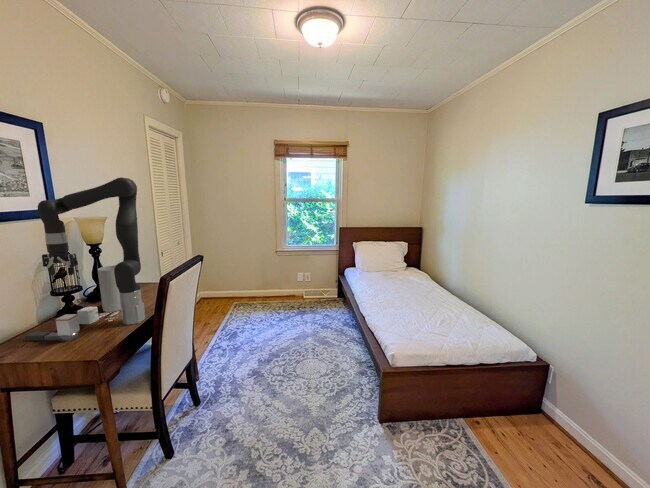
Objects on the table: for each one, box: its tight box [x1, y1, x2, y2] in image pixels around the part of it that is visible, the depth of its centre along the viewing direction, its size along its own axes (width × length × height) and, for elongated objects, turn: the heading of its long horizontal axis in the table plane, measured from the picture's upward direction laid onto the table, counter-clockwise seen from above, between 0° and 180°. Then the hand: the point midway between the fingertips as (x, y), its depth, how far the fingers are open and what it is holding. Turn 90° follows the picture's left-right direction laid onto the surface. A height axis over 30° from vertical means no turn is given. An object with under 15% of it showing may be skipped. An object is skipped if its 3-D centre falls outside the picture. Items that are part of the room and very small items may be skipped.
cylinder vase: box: [97, 264, 121, 313], centre depth 164 cm, size 12×12×25 cm
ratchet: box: [24, 331, 80, 343], centre depth 130 cm, size 21×6×6 cm, turn 93°
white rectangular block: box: [54, 313, 80, 336], centre depth 130 cm, size 6×6×8 cm
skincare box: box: [76, 306, 100, 325], centre depth 148 cm, size 6×6×7 cm
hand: (62, 274), depth 136 cm, fingers open, 8 cm apart
